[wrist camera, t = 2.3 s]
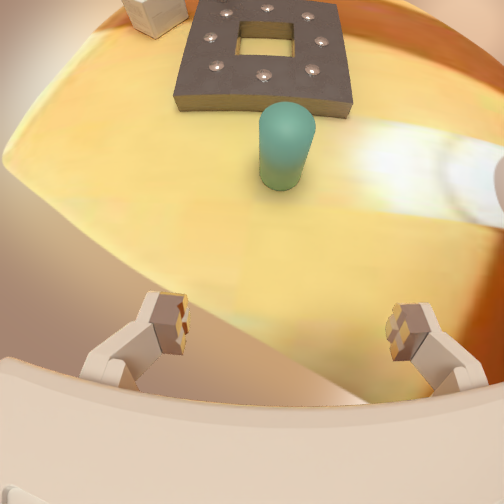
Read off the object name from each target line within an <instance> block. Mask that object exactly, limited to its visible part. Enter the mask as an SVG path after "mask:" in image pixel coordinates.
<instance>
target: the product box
mask: <svg viewBox="0 0 504 504" xmlns="http://www.w3.org/2000/svg"><path fill="white" fill-rule="evenodd" d="M122 2H123V5H124V7H125V9H126V11H127V13H128V15H129V18H130V20H131V22H132V24H133V27H134V28H135V29H137V30H139V31H141V32H143V33H145V34H147V35H149V36H151V37H153V38H154V39H157V38H159V37H160V36H162V35H163V34H165V33H166V32H167V31H169V30H170V29H172V28H173V27H175V26H176V25H178V24H179V23H181V22H183V21H184V20H186V19H187V18H188V13H187V9H186V5H185V1H184V0H122Z"/></svg>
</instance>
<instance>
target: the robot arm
mask: <svg viewBox="0 0 504 504" xmlns="http://www.w3.org/2000/svg"><path fill="white" fill-rule="evenodd" d="M187 304H188V298H187V295H186V294H178V293H169V292H158V291H148V293H147V294H146V296H145V298H144V301H143V303H142V306H141V308H140V311H139V313H138V316H137V318H136V321H131V322H130V323H128V324H127V325H126V326H124V327H123V328H121V329H120V330H119V331H117V332H116V333H115V334H113V335H112V336H111V337H109V338H108V339H107V340H106V341H104V342H103V343H101V344H100V345H98V346H97V347H96V348H94V349H93V350H92V351H90V352H89V354H88V356H87V358H86V361H85V363H84V366H83V368H82V370H81V373H80V375H79V377H78V378H77V377H73V376H69V375H66V374H62V373H59V372H56V371H52V370H49V369H46V368H43V367H39V366H36V365H33V364H30V363H27V362H25V361H22V360H19V359H16V358H13V357H5V358H3V359H1V360H0V504H504V382H501V383H497V384H493V385H489V384H488V381H487V378H486V376H485V373H484V370H483V368H482V365H481V363H480V362H479V361H478V360H477V359H476V358H474V357H473V356H472V355H471V354H470V353H469V352H468V351H467V350H465V349H464V348H463V347H462V346H461V345H460V344H459V343H457V342H456V341H455V340H454V339H453V338H452V337H450V336H449V335H448V334H447V333H446V332H442V330H441V328H440V325H439V323H438V321H437V318H436V316H435V314H434V312H433V309H432V307H431V305H430V304H429V303H396V304H395V305H394V307H393V309H392V311H393V315H391V316H390V317H389V318H388V320H387V323H386V329H385V330H386V337H387V340H388V341H389V342H390V343H391V346H390V352H391V355H392V359H393V361H411V363H412V364H413V365H414V366H415V367H416V369H417V370H418V371H419V372H420V373H421V375H422V376H423V377H424V378H425V379H426V381H427V382H428V383H429V384H430V385H431V387H432V388H433V389H434V390H435V391H434V393H433V394H432V395H431V396H430V397H427V398H420V399H413V400H405V401H396V402H386V403H375V404H362V405H345V406H312V407H293V406H291V407H289V406H259V405H241V404H228V403H217V402H207V401H198V400H190V399H182V398H175V397H168V396H161V395H156V394H150V393H144V392H140V390H139V389H138V387H137V385H136V383H135V381H136V380H137V379H138V378H139V377H140V376H141V375H142V374H143V373H144V372H145V371H146V370H147V369H148V368H149V367H150V366H151V365H152V364H153V363H154V362H155V361H156V360H157V359H158V358H159V357H160V356H161V355H162V353H163V354H173V355H183V353H184V349H185V344H186V339H185V335H186V334H187V333H188V332H189V327H190V310H189V309H188V308H187Z"/></svg>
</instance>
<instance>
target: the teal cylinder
mask: <svg viewBox="0 0 504 504" xmlns="http://www.w3.org/2000/svg"><path fill="white" fill-rule="evenodd" d="M315 128H316V125H315V120H314V118H313V116H312V114H311V113H310V112H309V111H308V110H307V109H306V108H304V107H303V106H301V105H299V104H296V103H293V102H278V103H275V104H272V105H270V106H269V107H267V108H266V109H265V110H264V111H263V113H262V114H261V117H260V120H259V163H260V177H261V180H262V181H263V183H264V184H265V185H266V186H267V187H269V188H271V189H273V190H276V191H286V190H289V189H291V188H293V187H294V186H295V185H296V184H297V183H298V181H299V179H300V177H301V173H302V170H303V167H304V164H305V161H306V158H307V155H308V152H309V149H310V146H311V143H312V139H313V136H314V133H315Z"/></svg>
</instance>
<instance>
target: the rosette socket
mask: <svg viewBox="0 0 504 504" xmlns="http://www.w3.org/2000/svg"><path fill="white" fill-rule="evenodd" d="M241 37H248V38H277V39H292V57H285V56H267V55H239V50H240V42H241ZM173 97H174V99H175V102H176V104H177V107H178V109H179V111H264V110H265V109H266V108H267V107H269V106H270V105H272V104H275V103H278V102H293V103H296V104H299V105H301V106H303V107H304V108H306V109H307V110H308V111H309V112H310V113H311V114H312V115H319V116H328V117H337V118H345V119H346V118H347V116H348V114H349V112H350V109H351V107H352V105H353V98H352V90H351V83H350V76H349V70H348V63H347V57H346V51H345V45H344V40H343V35H342V29H341V24H340V20H339V15H338V10H337V6H336V4H330V3H323V2H315V1H306V0H199V3H198V6H197V9H196V13H195V16H194V19H193V22H192V26H191V29H190V32H189V36H188V39H187V43H186V47H185V50H184V54H183V58H182V61H181V65H180V69H179V73H178V77H177V81H176V86H175V90H174V94H173Z"/></svg>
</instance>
